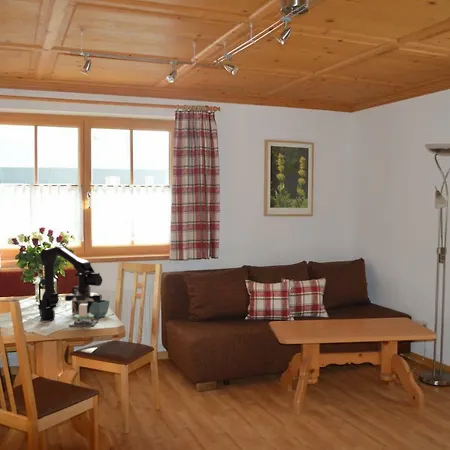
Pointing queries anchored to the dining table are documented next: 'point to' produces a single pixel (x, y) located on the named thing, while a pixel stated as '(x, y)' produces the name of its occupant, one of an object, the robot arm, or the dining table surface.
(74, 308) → the coffee box
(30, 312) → the dining table surface
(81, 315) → the block on green base
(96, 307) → the flower pot
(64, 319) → the dining table surface
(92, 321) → the chassis
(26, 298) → the dining table surface
